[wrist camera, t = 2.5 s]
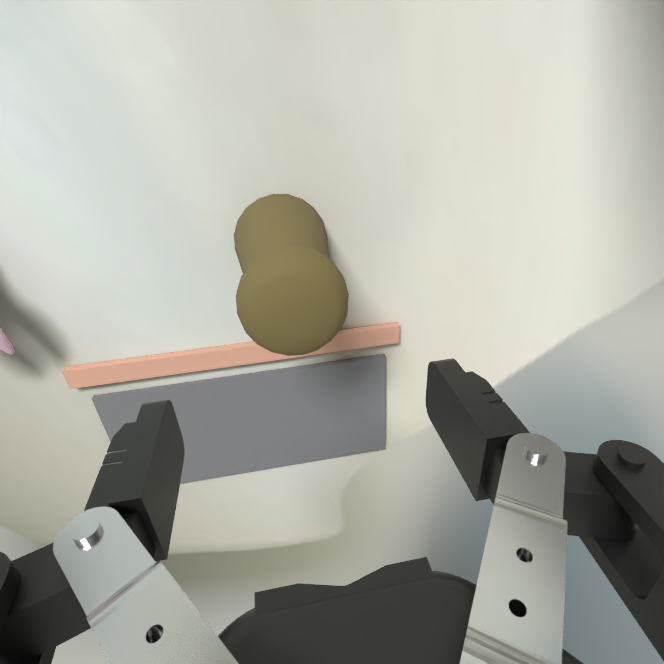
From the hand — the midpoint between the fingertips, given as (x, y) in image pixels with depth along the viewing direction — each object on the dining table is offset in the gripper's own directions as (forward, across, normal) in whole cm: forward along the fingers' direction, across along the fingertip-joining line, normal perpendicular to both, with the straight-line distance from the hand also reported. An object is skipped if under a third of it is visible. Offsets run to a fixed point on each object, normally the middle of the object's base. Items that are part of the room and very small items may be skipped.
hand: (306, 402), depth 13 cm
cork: (+17, 0, 0) cm, 17 cm away
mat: (+17, +4, +15) cm, 23 cm away
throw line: (+17, +4, +8) cm, 19 cm away
